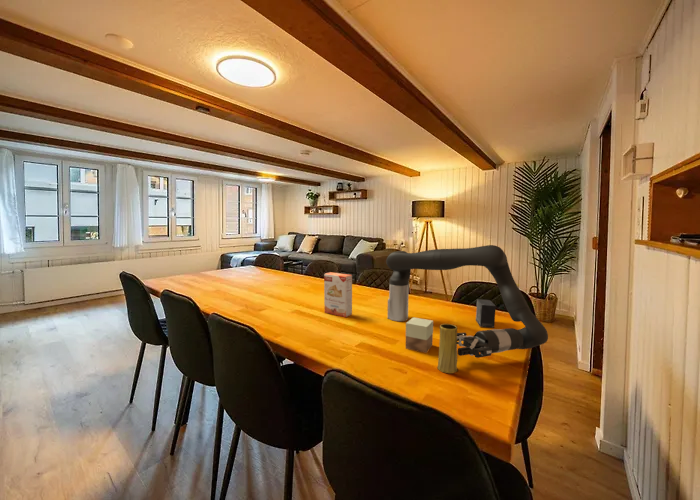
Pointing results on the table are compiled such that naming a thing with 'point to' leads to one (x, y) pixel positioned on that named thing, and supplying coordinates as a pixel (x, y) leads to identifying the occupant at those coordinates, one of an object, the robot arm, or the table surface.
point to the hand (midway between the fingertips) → (450, 346)
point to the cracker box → (338, 294)
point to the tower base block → (419, 344)
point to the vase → (448, 348)
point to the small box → (485, 313)
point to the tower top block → (419, 328)
